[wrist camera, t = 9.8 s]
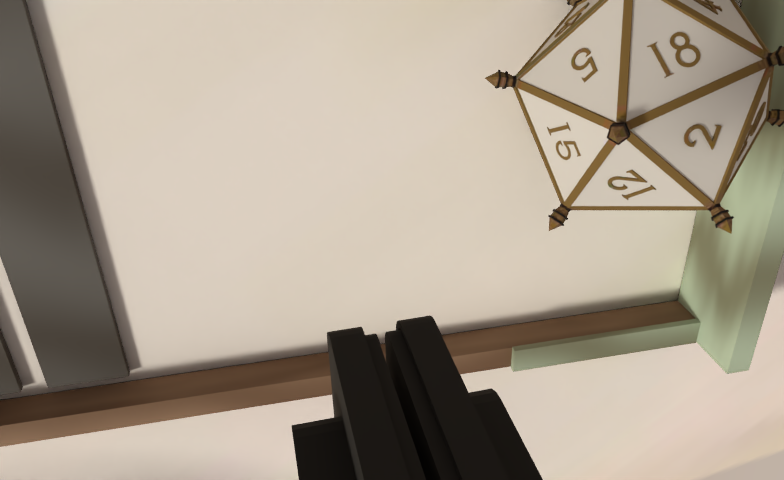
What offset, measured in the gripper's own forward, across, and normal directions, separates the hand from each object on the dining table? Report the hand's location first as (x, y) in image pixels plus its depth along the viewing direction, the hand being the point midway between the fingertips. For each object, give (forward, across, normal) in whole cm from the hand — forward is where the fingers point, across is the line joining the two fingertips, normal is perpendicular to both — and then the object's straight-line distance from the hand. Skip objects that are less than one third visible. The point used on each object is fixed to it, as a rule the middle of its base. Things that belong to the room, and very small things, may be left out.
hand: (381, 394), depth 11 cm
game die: (+14, -11, 0) cm, 18 cm away
